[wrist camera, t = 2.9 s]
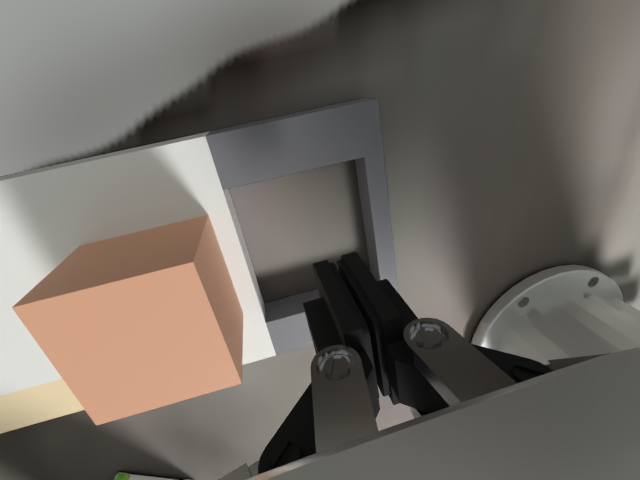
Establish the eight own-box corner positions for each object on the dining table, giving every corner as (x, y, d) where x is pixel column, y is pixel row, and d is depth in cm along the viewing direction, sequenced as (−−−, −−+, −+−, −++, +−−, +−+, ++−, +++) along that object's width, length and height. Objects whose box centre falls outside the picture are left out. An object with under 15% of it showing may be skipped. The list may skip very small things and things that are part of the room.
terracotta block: (208, 214, 16) (193, 261, 12) (243, 313, 19) (241, 383, 14) (79, 245, 16) (11, 307, 11) (133, 343, 18) (96, 425, 14)
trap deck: (364, 97, 17) (378, 98, 16) (389, 301, 23) (401, 319, 21) (-464, 276, 14) (-568, 304, 12) (-200, 465, 20) (-245, 503, 18)
